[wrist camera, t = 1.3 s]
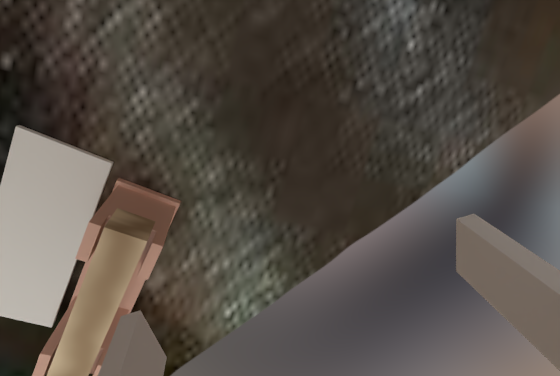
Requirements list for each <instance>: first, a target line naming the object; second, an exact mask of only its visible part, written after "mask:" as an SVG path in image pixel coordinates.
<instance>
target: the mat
mask: <svg viewBox="0 0 560 376" xmlns="http://www.w3.org/2000/svg"><path fill="white" fill-rule="evenodd" d="M113 163H114V162H113V161H110V160H108V159H105V158H103V157H100V156H98V155H95V154H93V153H90V152H87V151H85V150H82V149H80V148H77V147H75V146H72V145H70V144H67V143H64V142H62V141H59V140H57V139H54V138H52V137H49V136H47V135H44V134H42V133H39V132H36V131H34V130H31V129H29V128H26V127H24V126H21V125H18V126H16V128H15V131H14V135H13V139H12V143H11V147H10V151H9V154H8V158H7V162H6V166H5V170H4V173H3V177H2V181H1V185H0V316H3V317H7V318H12V319H16V320H20V321H25V322H29V323H34V324H38V325H43V326H47V327H51V328H52V326H53V324H54V322H55V319H56V317H57V314H58V311H59V309H60V306H61V303H62V300H63V298H64V295H65V292H66V290H67V287H68V284H69V282H70V279H71V276H72V274H73V271H74V268H75V265H76V263H77V259H75V258H76V255H77V252H78V250H79V247H80V244H81V242H82V239H83V236H84V233H85V231H86V228H87V225H88V223H89V221H90V220H91V218H92V217H93V216H94V214H95V211H96V209H97V206H98V203H99V201H100V198H101V195H102V193H103V190H104V187H105V185H106V182H107V179H108V176H109V174H110V171H111V168H112V166H113Z"/></svg>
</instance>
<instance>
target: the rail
mask: <svg viewBox="0 0 560 376" xmlns="http://www.w3.org/2000/svg"><path fill="white" fill-rule="evenodd" d="M155 222H156V221H153V220H150V219H147V218H145V217H142V216H139V215H136V214H133V213H130V212H127V211H125V210H122V209H119V208H117V209H116V211H115V212H114V214H113V215H112V216H111V218H110V219H109V221H108V222H107V224H106V225H105V227H104V229H103V231H102V234H101V237H100V239H99V242H98V244H97V247H96V250H95V252H94V255H93V257H92V260H91V263H90V265H89V268H88V270H87V273H86V275H85V278H84V281H83V283H82V286H81V288H80V291H79V294H78V296H77V299H76V301H75V304H74V306H73V309H72V312H71V314H70V317H69V319H68V322H67V325H66V327H65V330H64V332H63V335H62V338H61V340H60V343H59V345H58V348H57V350H56V353H55V356H54V358H53V361H52V363H51V366H50V369H49V371H48V374H47V376H88V375H89V373H90V371H91V368H92V366H93V364H94V362H95V359H96V357H97V355H98V353H99V350H100V348H101V346H102V343H103V341H104V339H105V337H106V334H107V332H108V330H109V328H110V325H111V323H112V321H113V318H114V316H115V314H116V312H117V309H118V307H119V305H120V303H121V300H122V298H123V296H124V293H125V291H126V289H127V287H128V284H129V282H130V280H131V278H132V275H133V273H134V271H135V268H136V266H137V264H138V262H139V259H140V257H141V255H142V253H143V250H144V248H145V246H146V243H147V241H148V239H149V236H150V234H151V231H152V229H153V226H154V224H155Z"/></svg>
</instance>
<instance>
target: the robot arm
mask: <svg viewBox="0 0 560 376" xmlns="http://www.w3.org/2000/svg"><path fill="white" fill-rule="evenodd" d="M456 271H457V272H458V273H459V274H460V275H461V276H462V277H463V278H464V279H465V280H466V281H467V282H468V283H469V284H470V285H471V286H472V287H473V288H474V289H475V290H476V291H477V292H478V293H480V294H481V295H482V296H483V297H484V298H485V299H486V300H487V301H488V302H489V303H490V304H491V305H492V306H493V307H494V308H495V309H496V310H497V311H498V312H499V313H500V314H501V315H502V316H503V317H504V318H505V319H506V320H508V321H509V322H510V323H511V324H512V325H513V326H514V327H515V328H516V329H517V330H518V331H519V332H520V333H521V334H522V335H523V336H524V337H525V338H526V339H527V340H528V341H529V342H530V343H531V344H532V345H534V346H535V347H536V348H537V349H538V350H539V351H540V352H541V353H542V354H543V355H544V356H545V357H546V358H547V359H548V360H549V361H550V362H551V363H552V364H553V365H554V366H555V367H557V369H558V370H560V271H559V270H558V269H556V268H555V267H553V266H552V265H550V264H549V263H547V262H546V261H544V260H543V259H541V258H540V257H538V256H537V255H535V254H534V253H532V252H531V251H529V250H527V249H526V248H525V247H523V246H522V245H520V244H519V243H517V242H516V241H514V240H513V239H511V238H510V237H508V236H507V235H505V234H504V233H502V232H501V231H499V230H498V229H496V228H495V227H493V226H492V225H490V224H489V223H487V222H486V221H484V220H483V219H481V218H480V217H478V216H477V215H475V214H471V215H468V216H465V217H461V218H457V221H456ZM166 358H167V357H166V355H165V354H164V352H163V350H162V348H161V346H160V345H159V343H158V341H157V339H156V338H155V336H154V334H153V332H152V330H151V329H150V327H149V325H148V323H147V321H146V320H145V318H144V316H143V314H142V312H141V311H137V312H133V313H130V314H126V315H123V316H121V317H120V320H119V322H118V325H117V327H116V330H115V333H114V335H113V338H112V340H111V343H110V345H109V348H108V351H107V353H106V356H105V358H104V361H103V363H102V366H101V369H100V371H99V374H98V376H163V374H164V368H165V363H166Z"/></svg>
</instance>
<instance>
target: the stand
mask: <svg viewBox="0 0 560 376" xmlns="http://www.w3.org/2000/svg"><path fill="white" fill-rule="evenodd" d="M180 202H181V201H180V200H177V199H175V198H172V197H169V196H167V195H164V194H161V193H159V192H156V191H153V190H151V189H148V188H146V187H143V186H140V185H138V184H135V183H132V182H130V181H127V180H124V179H122V178H118V179H117V181H116V183H115V186H114V189H113V191H112V193H111V195H110V196H109V197H108V198H107V200H106V201H105V202H104V203H103V205H102V206H101V207H100V208H99V210H98V211H97V212H96V213H95V215H94V216H93V217H92V218H91V220H90V221H89V223H88V225H87V228H86V231H85V233H84V236H83V239H82V242H81V244H80V247H79V250H78V252H77V255H76V258H75V259H77V260H81V261H84V262H85V265H84V267H83V270H82V273H81V275H80V278H79V280H78V283H77V286H76V288H75V291H74V294H73V296H72V299H71V301H70V304H69V307H68V309H67V311H66V312H65V314H64V316H63V317H62V319H61V321H60V322H59V324H58V325H57V327H56V329H55V330H54V332H53V334H52V335H51V337H50V339H49V340H48V342H47V343H46V345H45V347H44V348H43V350H42V352H41V353H40V356H39V359H38V361H37V364H36V367H35V369H34V372H33V375H32V376H45V375H46V373H47V371H48V369H49V368H50V366H51V363H52V361H53V358H54V356H55V353H56V350H57V348H58V345H59V343H60V340H61V338H62V335H63V332H64V330H65V327H66V325H67V322H68V319H69V317H70V314H71V312H72V309H73V306H74V304H75V301H76V299H77V296H78V294H79V291H80V288H81V286H82V283H83V281H84V278H85V275H86V273H87V270H88V268H89V265H90V263H91V260H92V257H93V255H94V252H95V250H96V247H97V244H98V242H99V239H100V237H101V234H102V231H103V229H104V227H105V225H106V224H107V222H108V221H109V219H110V218H111V216H112V215H113V214H114V212H115V211H116V209H117V208H119V209H122V210H125V211H127V212H130V213H133V214H136V215H139V216H142V217H145V218H147V219H150V220H153V221H156V222H155V224H154V226H153V229H152V231H151V234H150V236H149V239H148V241H147V243H146V246H145V248H144V250H143V253H142V255H141V257H140V259H139V262H138V264H137V266H136V268H135V271H134V273H133V275H132V278H131V280H130V282H129V284H128V287H127V289H126V291H125V293H124V296H123V298H122V300H121V303H120V305H119V307H118V309H117V312H116V314H115V316H114V318H113V321H112V323H111V325H110V328H109V330H108V332H107V334H106V337H105V339H104V341H103V343H102V346H101V348H100V350H99V353H98V355H97V357H96V359H95V362H94V364H93V366H92V368H91V371H90V373H92V374H93V375H92V376H98V374H99V371H100V369H101V366H102V363H103V361H104V358H105V356H106V353H107V351H108V348H109V345H110V343H111V340H112V338H113V335H114V333H115V330H116V327H117V325H118V322H119V320H120V317H121V316H123V315H126V314H130V312H131V310H132V308H133V306H134V304H135V301H136V299H137V297H138V295H139V293H140V291H141V288H142V286H143V284H144V282H145V280H148V278H149V276H150V274H151V272H152V270H153V268H154V265H155V263H156V261H157V259H158V257H159V254H160V252H161V250H162V248H163V245H164V242H165V239H166V236H167V233H168V230H169V227H170V225H171V223H172V221H173V218H174V216H175V214H176V212H177V210H178V207H179V205H180Z"/></svg>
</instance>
